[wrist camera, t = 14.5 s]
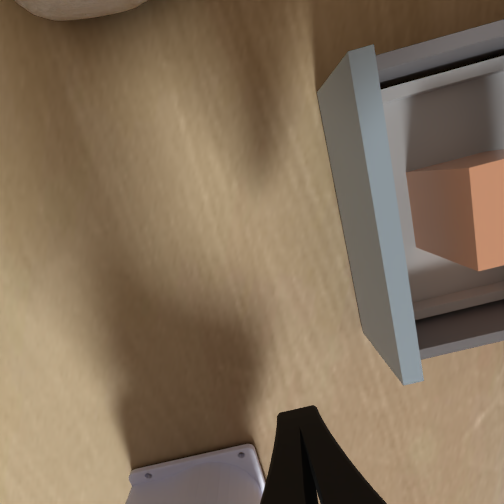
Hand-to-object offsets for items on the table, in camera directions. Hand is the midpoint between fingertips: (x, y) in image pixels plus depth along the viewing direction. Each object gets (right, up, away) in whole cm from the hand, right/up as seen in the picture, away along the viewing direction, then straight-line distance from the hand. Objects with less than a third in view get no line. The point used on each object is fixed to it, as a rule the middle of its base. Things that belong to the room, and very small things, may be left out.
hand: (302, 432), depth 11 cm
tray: (+10, +10, +8) cm, 16 cm away
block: (+10, +9, +7) cm, 15 cm away
